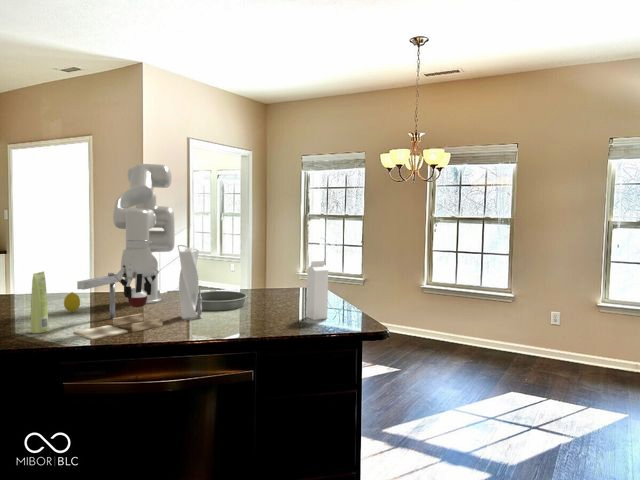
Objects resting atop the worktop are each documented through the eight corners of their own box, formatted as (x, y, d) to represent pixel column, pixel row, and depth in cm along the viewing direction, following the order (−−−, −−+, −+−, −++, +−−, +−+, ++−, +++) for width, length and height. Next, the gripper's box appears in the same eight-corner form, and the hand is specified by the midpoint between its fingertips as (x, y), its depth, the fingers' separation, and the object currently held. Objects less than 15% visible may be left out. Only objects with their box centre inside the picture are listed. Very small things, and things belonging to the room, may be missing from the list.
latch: (113, 316, 173) (112, 272, 172) (119, 317, 172) (119, 272, 171) (77, 329, 154) (76, 279, 153) (84, 329, 153) (84, 279, 152)
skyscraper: (179, 321, 169) (179, 245, 168) (175, 316, 176) (175, 244, 175) (202, 319, 173) (202, 245, 171) (197, 314, 180) (198, 244, 179)
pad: (109, 326, 158) (109, 325, 158) (128, 332, 151) (128, 330, 151) (73, 333, 148) (73, 331, 148) (91, 339, 141) (91, 338, 141)
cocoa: (132, 304, 164) (130, 271, 164) (150, 303, 165) (149, 270, 165) (124, 309, 155) (123, 274, 154) (143, 308, 156) (142, 273, 155)
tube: (27, 331, 150) (26, 272, 149) (44, 328, 153) (44, 270, 152) (34, 334, 146) (33, 273, 145) (51, 331, 150) (50, 272, 149)
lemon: (73, 314, 176) (73, 293, 175) (60, 313, 177) (60, 293, 176) (83, 311, 181) (83, 291, 181) (71, 310, 182) (71, 290, 182)
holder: (141, 320, 168) (141, 313, 168) (162, 325, 160) (162, 318, 160) (112, 325, 159) (112, 318, 159) (133, 331, 152) (133, 324, 151)
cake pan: (177, 308, 192) (177, 297, 192) (211, 298, 215) (212, 289, 215) (226, 313, 183) (227, 302, 183) (257, 303, 206) (257, 293, 205)
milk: (327, 318, 176) (329, 261, 175) (313, 320, 173) (315, 262, 172) (319, 315, 182) (321, 260, 180) (306, 316, 179) (307, 260, 177)
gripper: (153, 243, 168) (153, 291, 169) (107, 245, 154) (108, 298, 155) (165, 244, 163) (165, 293, 165) (119, 247, 149) (119, 301, 151)
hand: (137, 295), depth 160 cm, fingers closed on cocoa, 6 cm apart
